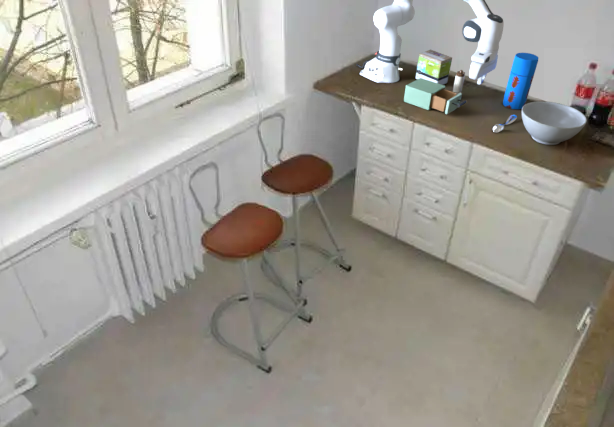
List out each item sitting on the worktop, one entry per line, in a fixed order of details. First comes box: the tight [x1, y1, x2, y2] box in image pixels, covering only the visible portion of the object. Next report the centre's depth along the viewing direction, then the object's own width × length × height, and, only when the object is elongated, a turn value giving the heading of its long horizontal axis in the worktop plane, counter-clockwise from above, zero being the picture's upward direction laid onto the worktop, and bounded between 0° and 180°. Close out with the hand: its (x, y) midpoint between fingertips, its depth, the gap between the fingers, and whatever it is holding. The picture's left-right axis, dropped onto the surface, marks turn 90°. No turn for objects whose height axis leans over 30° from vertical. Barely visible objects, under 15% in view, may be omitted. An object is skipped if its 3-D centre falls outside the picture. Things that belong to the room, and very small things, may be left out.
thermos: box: [502, 52, 539, 110], centre depth 257 cm, size 11×11×25 cm
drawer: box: [430, 88, 467, 115], centre depth 255 cm, size 18×12×7 cm
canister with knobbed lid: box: [451, 69, 466, 95], centre depth 266 cm, size 5×5×14 cm
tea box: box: [415, 49, 453, 85], centre depth 282 cm, size 15×10×15 cm, turn 41°
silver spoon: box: [492, 114, 518, 134], centre depth 244 cm, size 20×4×5 cm
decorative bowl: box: [521, 100, 588, 146], centre depth 232 cm, size 27×27×12 cm
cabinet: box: [403, 78, 446, 111], centre depth 262 cm, size 15×14×9 cm
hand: (480, 83), depth 240 cm, fingers closed
